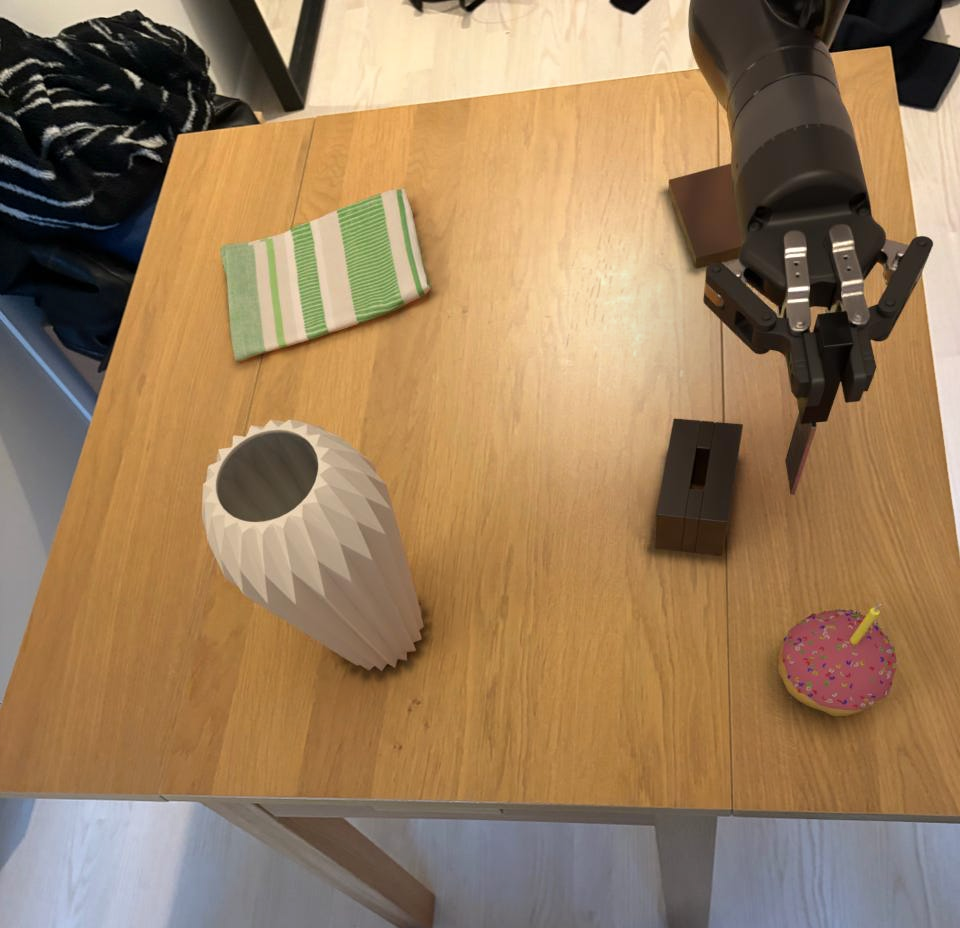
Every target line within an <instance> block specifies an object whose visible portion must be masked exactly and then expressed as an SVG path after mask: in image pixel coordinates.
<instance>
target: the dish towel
mask: <svg viewBox="0 0 960 928" xmlns="http://www.w3.org/2000/svg"><path fill="white" fill-rule="evenodd" d="M220 257H221V261H222V265H223V269H224V273H225V277H226V286H227V287H226V288H227V302H228V303H227V304H228V312H229V313H228V314H229V315H228V317H229V332H230V340H231V347H232V353H233V357H234V360H235V361H236V362H240V361H245V360H248V359H251V358H253V357H256V356H259V355H262V354H266V353H269V352H272V351H275V350H279V349H283V348H287V347H290V346H293V345H297V344H300V343H303V342H308V341H310V340H315V339H317V338H320V337H323V336H326V335H328V334H331V333H334V332H339V331H342V330H345V329H348V328H351V327H354V326H356V325H359V324H362V323H366V322H369V321H372V320H374V319H376V318H379V317H382V316H384V315H387V314H390V313H392V312H395V311H397V310H399V309H400V308H403V307H405V306H406V305H408V304H409V303H411V302H414V301H415V300H417V299H419V298H420V299H421V298H422V297H423V296H424V295H426V294H427V293H428V292H429V291H430V290H431V288H432V285H431V283H430V280H429V278H428V277H429V276H428V274H427V270H426V265H425V261H424V257H423V254H422V249H421V245H420V241H419V237H418V232H417V227H416V223H415V219H414V213H413V210H412V206H411V203H410V199H409V197H408V194H407V191H406V189H405V188H399V189H389V190H386V191H383V192H381V193H378V194H376V195H375V194H374V195H372V196H370V197H367V198H365V199H362V200H359V201H355V202H353V203H352V204H351V203H350V204H348V205H345V206H342V207H340V208H338V209H336V210H334V211H331V212H329V213H326V214H324V215H321V217H318V218H316V219H313V220H309V221H307V222H304V223H300V224H297V225H295V226H293V227H292V228H289V229H288V230H286V231H284V232H282V233H279V234H276V235H272V236H267V237H264V238H259V239H256V240H251V241H245V242H244V241H243V242H234V243H228V244H224V245H221V246H220Z"/></svg>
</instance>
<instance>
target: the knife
mask: <svg viewBox="0 0 960 928" xmlns="http://www.w3.org/2000/svg"><path fill="white" fill-rule="evenodd" d="M812 332H816V337H817V343H818V348H819V354H820V358H821V362H822V367H823V373H824V379H825V386H824V391H823V394H822V397H821V400H820V403H819V405H818V406H809V407H805V405H804V400H803V398H796V403H797V404H796V405H797V409H798V415H797V417H796V420H795V424H794V427H793V431H792V435H791V438H790V441H789V445H788V449H787V452H786V456H785V460H784V463H785V469H786V475H787V481H788V490H789V494H790V496H795V495H796V492H797V489H798V486H799V483H800V481H801V477H802V474H803V471H804V467H805V465H806V462H807V459H808V456H809V453H810V449H811V447H812V443H813V441H814V437H815V434H816V432H817V428H818V423H827V422H828V420H829V417H830V415H831V411H832V408H833V406H834V403H835V400H836V397H837V394H838V391H839V388H840V385H841V379H842V376H843V373H844V370H845V367H846V364H847V361H848V359H849V356H850V353H851V350H852V347H853V345H854V342H853V337H852V333H851V328H850V323H849V318H848V313H847V311H840V312H831V313H825V312H824V313H818V314H817V315H816V318H815V321H814V326H813V329H812Z"/></svg>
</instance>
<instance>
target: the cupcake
mask: <svg viewBox="0 0 960 928" xmlns="http://www.w3.org/2000/svg"><path fill="white" fill-rule="evenodd" d="M882 604H883V603H882V602H878V604H877V605H876V607H871V608H870V609H869V610H868V612H867V614H866V615H865V614H864V613H861V611H860V610H855V612H854V610H853V609H849V610H846V609H845V608H844V607H843V608H840V609H833V610H827V611H826V610H822V611H821V612H818V613H811V614H810V615H808V616H807V617H806V618H804V619H803V620H801V621H800V622H797V623H796V624H795V625H794V626H793V627H791V628H790V629H789V630H788V632H787V634H786V635H785V637H784V638H783V641H782V643H781V646H780V651H779V657H778V667H777V668H778V673H779V675H780V677H781V679H782V681H783V684H784V686H785V689H786V690H787V692H788V693H789V694H790V695H791V697H793V698H795V700H797V701H799V702H801V703H802V704H804V705H806V706H808V707H810V708H812V709H816V710H818V711H821V712H823V713H826V714H828V715H830V716H832V717H847V716H852V715H856V714H858V713H861V712H863V711H865V710H868V709H869V708H871V707H873V706H874V705H876V704H878V703H880V702H881V701H883V700H884V699H885V698H886V697H887V696H888V694H889V693H890V691H891V688H892V684H893V679H894V677H895V673H896V670H897V668H898V666H899V662H898V658H897V655H896V648H895V647H894V645H893V643H892V642H891V640H890V639H889V638H890V637H889V634H887V632H886V630H883V629H882V628H881V627H880V626H879V625H878V622H876V619H877V618H878V616H879V614H880V613H881V611H880V608H881V606H882Z"/></svg>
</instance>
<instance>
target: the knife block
mask: <svg viewBox="0 0 960 928" xmlns="http://www.w3.org/2000/svg"><path fill="white" fill-rule="evenodd" d="M743 428H744V424H743V423H734V422H722V421H710V420H698V419H689V418H688V419H686V418H673V420H672V425H671V431H670V436H669V441H668V447H667V453H666V458H665V463H664V469H663V475H662V479H661V486H660V492H659V496H658V501H657V506H656V507H657V508H656V514H655V532H654V533H655V536H654V548H655V549H661V550H669V551H677V552H685V553H697V554H702V555H711V556H723V554H724V547H725V544H726V543H725V542H726V536H727V534H728V527H729V522H730V516H731V510H732V509H731V508H732V503H733V495H734V490H735V489H734V488H735V481H736V475H737V469H738V468H737V467H738V462H739V461H738V460H739V453H740V447H741V441H742V434H743ZM693 486H702V487H703V489H695V488H693Z"/></svg>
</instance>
